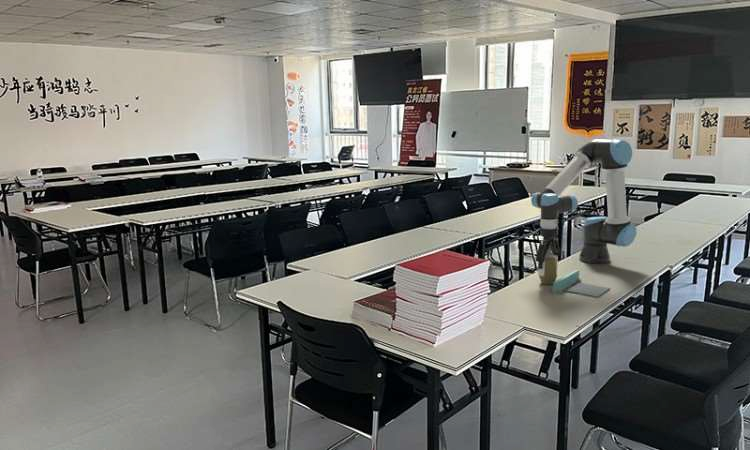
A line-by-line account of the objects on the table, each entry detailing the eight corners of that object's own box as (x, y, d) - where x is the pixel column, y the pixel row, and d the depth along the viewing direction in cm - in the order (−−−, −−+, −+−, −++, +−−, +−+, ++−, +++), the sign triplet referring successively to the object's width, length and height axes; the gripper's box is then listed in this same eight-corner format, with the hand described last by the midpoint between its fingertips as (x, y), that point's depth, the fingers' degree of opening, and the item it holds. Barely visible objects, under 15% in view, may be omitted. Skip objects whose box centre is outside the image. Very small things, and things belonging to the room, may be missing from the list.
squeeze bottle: (542, 279, 265) (542, 243, 262) (559, 282, 260) (560, 244, 257) (536, 284, 259) (537, 246, 255) (553, 286, 254) (554, 248, 250)
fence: (550, 292, 246) (550, 281, 245) (573, 279, 264) (573, 269, 263) (559, 294, 244) (559, 283, 243) (581, 280, 261) (581, 270, 260)
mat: (566, 291, 247) (566, 290, 246) (579, 283, 257) (579, 282, 256) (597, 297, 237) (597, 296, 237) (610, 289, 247) (610, 288, 247)
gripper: (544, 233, 243) (543, 279, 247) (568, 223, 261) (567, 267, 265) (528, 231, 248) (527, 276, 252) (553, 222, 266) (552, 264, 270)
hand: (547, 272), depth 258 cm, fingers open, 13 cm apart
